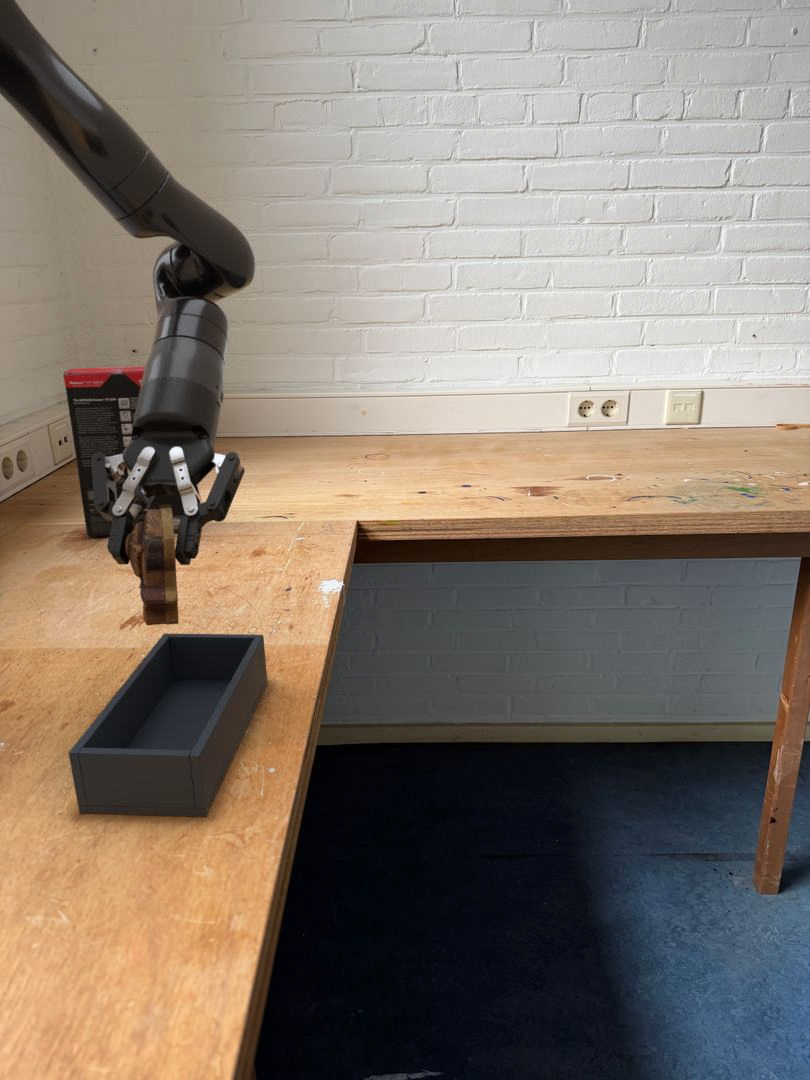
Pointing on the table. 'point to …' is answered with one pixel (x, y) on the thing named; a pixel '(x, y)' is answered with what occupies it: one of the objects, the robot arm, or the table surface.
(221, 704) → the bin
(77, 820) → the table surface
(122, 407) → the graphics card box
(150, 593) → the wooden carving
